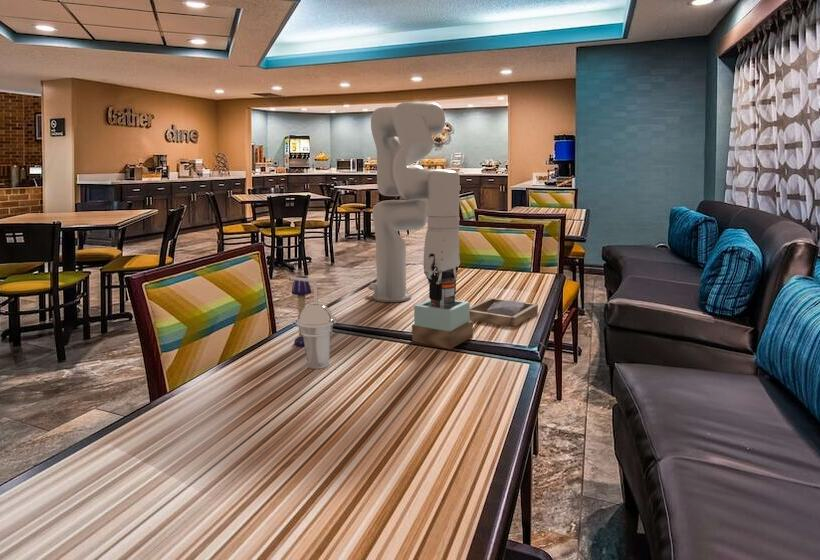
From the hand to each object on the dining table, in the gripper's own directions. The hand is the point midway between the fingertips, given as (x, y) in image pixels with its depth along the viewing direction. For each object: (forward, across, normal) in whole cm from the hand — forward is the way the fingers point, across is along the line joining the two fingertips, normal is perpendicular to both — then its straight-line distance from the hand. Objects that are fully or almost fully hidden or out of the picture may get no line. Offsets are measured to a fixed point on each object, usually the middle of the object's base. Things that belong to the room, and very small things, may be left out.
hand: (442, 296), depth 133 cm
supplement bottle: (+5, 0, 0) cm, 5 cm away
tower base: (+11, 0, 0) cm, 11 cm away
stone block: (+12, -29, +4) cm, 31 cm away
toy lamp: (+11, +21, -27) cm, 36 cm away
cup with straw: (+11, +30, -14) cm, 35 cm away
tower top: (+7, 0, 0) cm, 7 cm away
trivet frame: (+11, -28, +3) cm, 30 cm away
